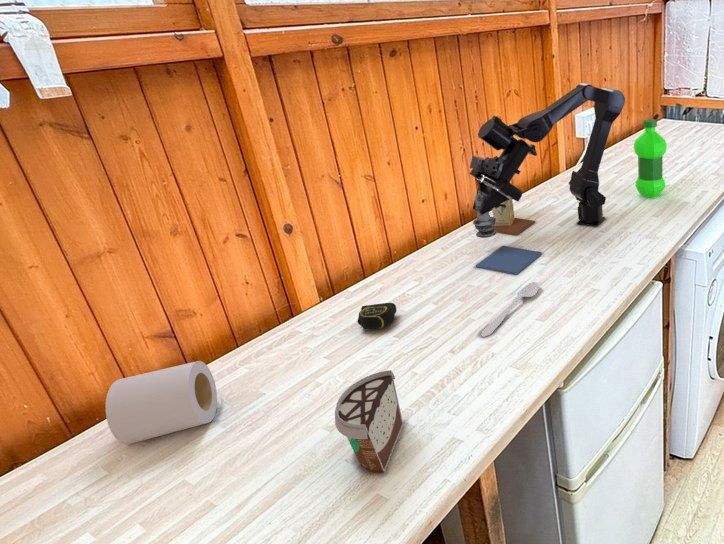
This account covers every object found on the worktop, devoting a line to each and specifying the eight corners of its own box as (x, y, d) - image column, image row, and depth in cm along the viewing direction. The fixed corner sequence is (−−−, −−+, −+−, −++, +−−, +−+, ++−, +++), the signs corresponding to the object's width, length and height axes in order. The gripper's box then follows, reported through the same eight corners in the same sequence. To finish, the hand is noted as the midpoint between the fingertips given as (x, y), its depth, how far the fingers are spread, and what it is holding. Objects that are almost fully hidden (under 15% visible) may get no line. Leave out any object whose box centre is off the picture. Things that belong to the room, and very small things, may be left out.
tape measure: (399, 313, 112) (395, 298, 110) (392, 331, 106) (388, 316, 104) (365, 317, 111) (361, 302, 109) (357, 336, 105) (352, 320, 103)
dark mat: (534, 222, 156) (534, 220, 156) (516, 235, 148) (516, 233, 147) (501, 217, 160) (501, 215, 160) (481, 229, 152) (481, 228, 152)
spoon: (544, 289, 119) (543, 282, 119) (491, 339, 102) (490, 332, 102) (528, 286, 121) (528, 279, 120) (474, 334, 104) (473, 327, 103)
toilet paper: (126, 458, 78) (96, 407, 74) (150, 414, 86) (124, 366, 82) (206, 436, 81) (182, 386, 77) (222, 396, 90) (200, 349, 85)
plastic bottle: (636, 190, 179) (635, 117, 169) (667, 190, 178) (667, 117, 167) (633, 200, 170) (631, 124, 160) (665, 200, 169) (665, 124, 158)
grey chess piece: (500, 228, 138) (494, 186, 133) (493, 238, 133) (486, 194, 127) (479, 228, 139) (472, 186, 133) (471, 238, 133) (463, 194, 128)
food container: (366, 420, 83) (351, 371, 79) (406, 417, 84) (392, 367, 79) (335, 485, 72) (315, 431, 68) (380, 481, 72) (363, 427, 68)
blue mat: (541, 254, 136) (541, 252, 136) (516, 274, 126) (516, 272, 126) (503, 247, 141) (503, 245, 140) (476, 267, 131) (475, 264, 130)
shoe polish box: (498, 219, 158) (493, 181, 152) (514, 218, 157) (510, 181, 152) (494, 225, 153) (489, 187, 148) (511, 225, 153) (506, 186, 148)
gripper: (470, 136, 134) (437, 187, 133) (504, 150, 121) (467, 206, 120) (502, 159, 142) (471, 207, 141) (537, 174, 129) (503, 227, 127)
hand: (477, 211), depth 132 cm, fingers closed on grey chess piece, 3 cm apart
